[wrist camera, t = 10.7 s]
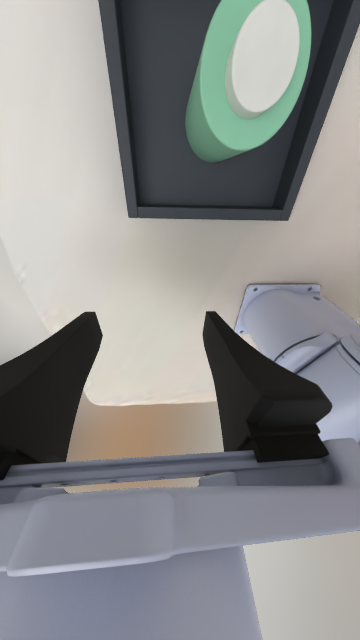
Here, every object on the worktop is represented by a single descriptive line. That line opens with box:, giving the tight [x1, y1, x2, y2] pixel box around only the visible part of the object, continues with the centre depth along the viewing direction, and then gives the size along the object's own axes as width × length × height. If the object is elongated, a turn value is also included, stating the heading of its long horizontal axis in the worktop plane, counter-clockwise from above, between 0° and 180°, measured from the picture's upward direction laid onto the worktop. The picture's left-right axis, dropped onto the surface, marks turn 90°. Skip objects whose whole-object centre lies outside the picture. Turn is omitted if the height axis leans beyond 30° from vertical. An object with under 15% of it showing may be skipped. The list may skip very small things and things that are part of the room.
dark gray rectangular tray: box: [98, 0, 360, 221], centre depth 12 cm, size 14×12×2 cm
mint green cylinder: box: [185, 0, 311, 163], centre depth 9 cm, size 4×4×8 cm
